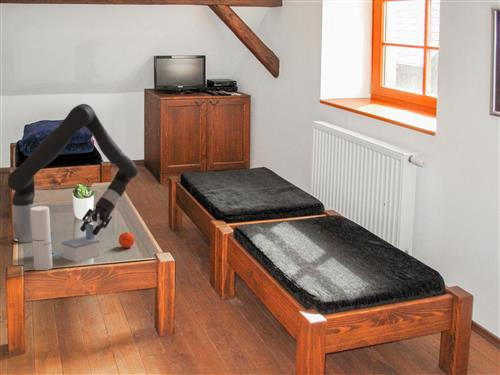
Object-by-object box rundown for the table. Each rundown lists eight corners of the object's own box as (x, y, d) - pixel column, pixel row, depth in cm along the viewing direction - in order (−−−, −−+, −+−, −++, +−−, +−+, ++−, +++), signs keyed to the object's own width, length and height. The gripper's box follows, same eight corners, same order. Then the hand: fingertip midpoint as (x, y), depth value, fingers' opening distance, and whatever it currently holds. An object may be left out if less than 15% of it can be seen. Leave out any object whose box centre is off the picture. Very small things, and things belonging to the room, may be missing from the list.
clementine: (124, 243, 338) (123, 228, 337) (138, 245, 336) (137, 229, 334) (116, 248, 331) (115, 233, 329) (130, 250, 329) (129, 234, 327)
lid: (75, 251, 311) (74, 232, 309) (61, 247, 317) (60, 228, 315) (99, 245, 320) (98, 226, 318) (86, 241, 326) (85, 222, 324)
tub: (75, 262, 312) (75, 248, 311) (63, 257, 318) (62, 244, 317) (99, 255, 321) (98, 242, 320) (86, 251, 327) (85, 238, 326)
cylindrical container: (34, 266, 307) (30, 206, 302) (52, 264, 309) (48, 205, 304) (34, 271, 301) (30, 211, 295) (53, 269, 303) (49, 209, 297)
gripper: (92, 194, 328) (72, 224, 322) (113, 199, 319) (92, 230, 313) (103, 203, 333) (83, 234, 327) (123, 209, 324) (103, 240, 318)
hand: (87, 232), depth 320 cm, fingers open, 8 cm apart
